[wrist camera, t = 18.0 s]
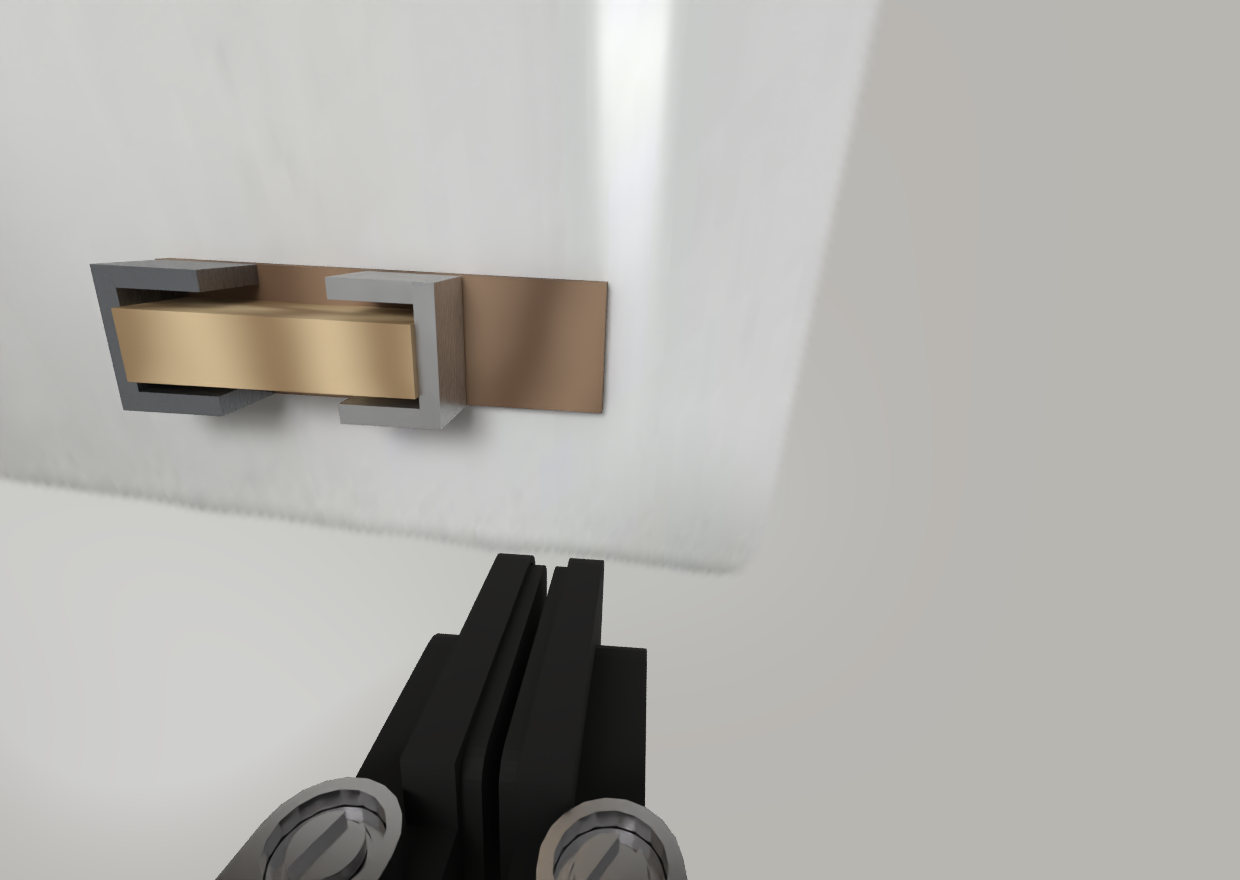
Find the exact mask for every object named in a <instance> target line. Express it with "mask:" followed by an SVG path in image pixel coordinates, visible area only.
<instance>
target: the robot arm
mask: <svg viewBox="0 0 1240 880" xmlns="http://www.w3.org/2000/svg"><path fill="white" fill-rule="evenodd" d="M603 580H604V560H590V559H576V558H570V559H569V563H568V567H558V566H557V567H555V570H554V573H553V577H552V580H551V584H550V587H549V591H548V595H547V569H546V566H544V565H535V558H534V556H532V555H517V554H503V553H500V554H498V555H497V557H496V559H495V561H494V563H493V565H492V567H491V569H490V572H489V574H488V576H487V578H486V580H485V582H484V584H483V586H482V588H481V590H480V593H479V595H478V597H477V599H476V601H475V603H474V605H473V607H472V609H471V611H470V613H469V616H468V618H467V620H466V622H465V624H464V626H463V628H462V630H461V633H460V634H459V635H452V634H439V633H438V634H436V635H434V636H433V637H432V639H431V640H430V642H429V643H428V645H427V647H426V648H425V650H424V652H423V654H422V656H421V658H420V660H419V661H418V663H417V665H416V667H415V669H414V671H413V672H412V674H411V676H410V678H409V680H408V682H407V683H406V685H405V687H404V689H403V691H402V693H401V695H400V696H399V698H398V700H397V702H396V704H395V706H394V707H393V709H392V711H391V713H390V715H389V717H388V719H387V720H386V722H385V724H384V726H383V728H382V730H381V731H380V733H379V735H378V737H377V739H376V741H375V743H374V744H373V746H372V748H371V750H370V752H369V754H368V755H367V758H366V759H365V761H364V763H363V765H362V767H361V768H360V770H359V772H358V774H357V776H356V778H354V777H346V778H341V779H334V780H329V781H325V782H322V783H320V784H317V785H315V786H312V787H310V788H307V789H305V790H303V791H301V792H300V793H298V794H297V795H295V796H294V797H292V798H291V799H289V800H287V801H286V802H284V803H283V804H281V805H280V806H279V807H278V808H277V809H276V810H275V811H274V812H273V813H272V814H271V815H270V816H269V817H268V818H267V819H266V820H265V821H264V822H263V823H262V824H261V825H260V826H259V827H258V829H257V830H256V831H255V832H254V833H253V835H252V836H251V837H250V838H249V840H248V841H247V842H246V843H245V845H244V846H243V847H242V848H241V849H240V850H239V852H238V853H237V854H236V855H235V856H234V858H233V859H232V860H231V861H230V863H229V864H228V865H227V866H226V867H225V869H224V870H223V871H222V872H221V873H220V875H219V876H218V877H217V878H216V879H215V880H687V875H686V871H685V865H684V860H683V857H682V854H681V851H680V848H679V846H678V843H677V840H676V837H675V836H674V835H673V833H672V832H671V831H670V829H669V828H668V827H667V825H666V824H665V823H664V821H663V820H662V819H661V818H659V817H658V816H657V815H655V814H654V813H653V812H651V811H650V810H649V809H647V808H646V807H645V755H646V753H645V752H646V679H647V677H646V676H647V650H646V649H644V648H631V647H616V646H603V645H601V625H602V624H601V623H602V602H603Z"/></svg>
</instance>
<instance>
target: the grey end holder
mask: <svg viewBox="0 0 1240 880" xmlns="http://www.w3.org/2000/svg"><path fill="white" fill-rule="evenodd" d="M90 268H91V272H92V276H93V281H94V285H95V289H96V294H97V298H98V302H99V306H100V311H101V315H102V319H103V324H104V328H105V332H106V337H107V341H108V345H109V350H110V354H111V358H112V362H113V367H114V371H115V375H116V380H117V384H118V388H119V393H120V397H121V401H122V406H123V410H130V411H146V412H162V413H178V414H194V415H210V416H223V415H226V414H228V413H230V412H233V411H235V410H237V409H240V408H242V407H244V406H246V405H249V404H251V403H253V402H256V401H258V400H260V399H263V398H265V397H267V396H270V395H272V394H274V393H275V391H270V390H254V389H238V388H221V387H205V386H188V385H172V384H155V383H139V382H128V381H127V377H126V372H125V368H124V363H123V359H122V355H121V350H120V346H119V341H118V337H117V332H116V328H115V324H114V319H113V315H112V310H111V308H114V307H121V306H128V305H135V304H142V303H149V302H155V301H162V300H169V299H176V298H183V297H189V293H188V292H205V291H212V290H219V289H227V288H234V287H241V286H248V285H256V284H259V278H258V271H257V264H238V263H220V262H201V261H183V260H148V261H132V262H115V263H99V264H90Z"/></svg>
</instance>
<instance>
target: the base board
mask: <svg viewBox="0 0 1240 880" xmlns="http://www.w3.org/2000/svg"><path fill="white" fill-rule="evenodd" d="M155 260H183V261H201V262H220V263H238V264H257V271H258V278H259V284H256V285H248V286H241V287H234V288H227V289H219V290H212V291H205V292H188V293H189V297H205V298H223V299H240V300H258V301H276V302H294V303H312V304H330V305H348V306H366V307H384V308H401V309H413V304H402V303H385V302H367V301H349V300H331V299H327V293H326V284H325V277H327V276H334V275H341V274H348V273H355V272H362V271H377V272H396V273H414V274H433V275H451V276H461V282H462V309H463V336H464V363H465V390H466V405H479V406H496V407H512V408H528V409H545V410H561V411H578V412H594V413H601V412H602V409H603V388H604V363H605V338H606V313H607V288H608V282H602V281H584V280H565V279H546V278H528V277H509V276H491V275H472V274H454V273H435V272H416V271H398V270H379V269H361V268H342V267H324V266H305V265H287V264H268V263H249V262H231V261H212V260H194V259H175V258H164V259H155ZM275 393H282V394H298V395H315V396H331V397H348V398H350V397H352V396H353V395H336V394H320V393H303V392H287V391H275Z"/></svg>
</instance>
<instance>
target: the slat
mask: <svg viewBox="0 0 1240 880" xmlns="http://www.w3.org/2000/svg"><path fill="white" fill-rule="evenodd" d="M111 310H112V315H113V319H114V324H115V328H116V332H117V337H118V341H119V346H120V350H121V355H122V359H123V363H124V368H125V372H126V377H127V381H128V382H139V383H155V384H172V385H188V386H205V387H221V388H238V389H254V390H270V391H287V392H303V393H320V394H336V395H353V396H369V397H386V398H402V399H416V398H418V397H419V389H418V373H417V357H416V342H415V326H414V310H413V309H401V308H384V307H366V306H348V305H330V304H312V303H294V302H276V301H258V300H240V299H223V298H205V297H183V298H176V299H169V300H162V301H155V302H149V303H142V304H135V305H128V306H121V307H114V308H111Z"/></svg>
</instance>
